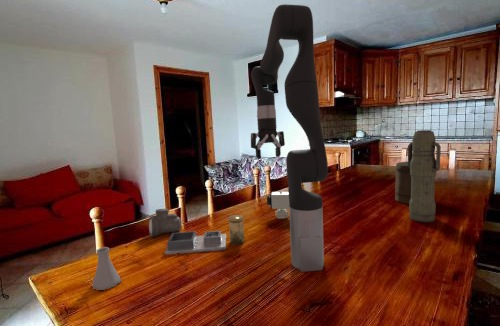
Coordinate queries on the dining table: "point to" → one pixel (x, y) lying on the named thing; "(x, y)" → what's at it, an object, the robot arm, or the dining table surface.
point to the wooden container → (403, 183)
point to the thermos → (423, 175)
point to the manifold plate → (195, 242)
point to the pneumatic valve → (279, 203)
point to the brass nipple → (236, 229)
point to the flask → (105, 271)
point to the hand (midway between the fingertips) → (268, 157)
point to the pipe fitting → (163, 222)
